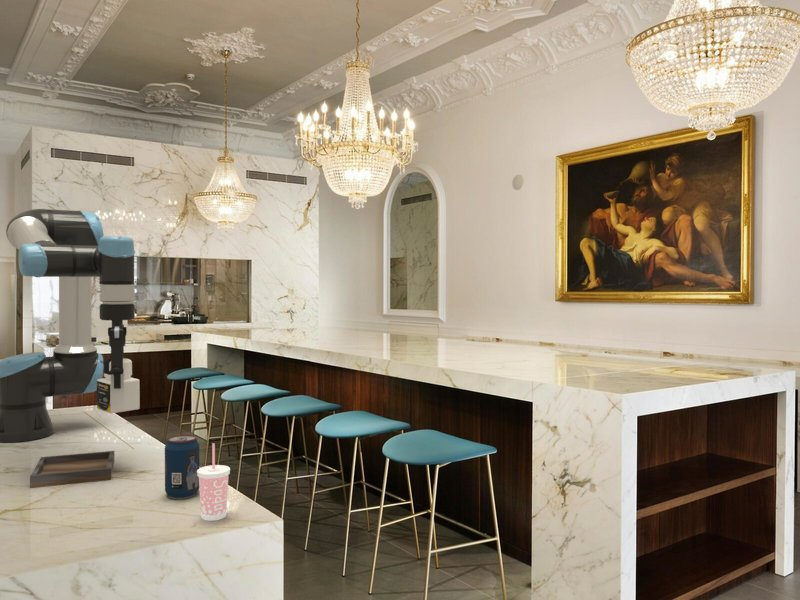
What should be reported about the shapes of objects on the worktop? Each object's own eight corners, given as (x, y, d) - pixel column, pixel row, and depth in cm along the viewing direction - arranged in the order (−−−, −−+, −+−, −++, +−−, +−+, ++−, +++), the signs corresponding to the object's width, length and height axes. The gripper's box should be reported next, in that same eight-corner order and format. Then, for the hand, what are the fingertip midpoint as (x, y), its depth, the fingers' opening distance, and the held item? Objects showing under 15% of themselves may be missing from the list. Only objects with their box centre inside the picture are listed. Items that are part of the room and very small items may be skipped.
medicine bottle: (96, 409, 152) (95, 358, 152) (126, 404, 157) (126, 355, 157) (109, 414, 147) (109, 361, 147) (140, 409, 152) (139, 358, 152)
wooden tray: (41, 467, 155) (41, 456, 155) (114, 460, 161) (114, 450, 161) (30, 487, 140) (29, 476, 140) (111, 479, 146) (110, 468, 146)
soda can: (172, 488, 140) (172, 433, 139) (204, 489, 139) (204, 433, 139) (159, 499, 133) (159, 441, 132) (193, 500, 132) (192, 442, 132)
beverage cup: (199, 524, 120) (198, 449, 119) (195, 512, 125) (194, 441, 125) (232, 519, 122) (232, 445, 122) (227, 508, 128) (227, 438, 127)
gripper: (101, 300, 160) (102, 391, 161) (96, 305, 140) (97, 408, 141) (134, 300, 163) (135, 389, 164) (134, 305, 142) (135, 406, 143)
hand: (118, 398), depth 152 cm, fingers closed on medicine bottle, 9 cm apart
